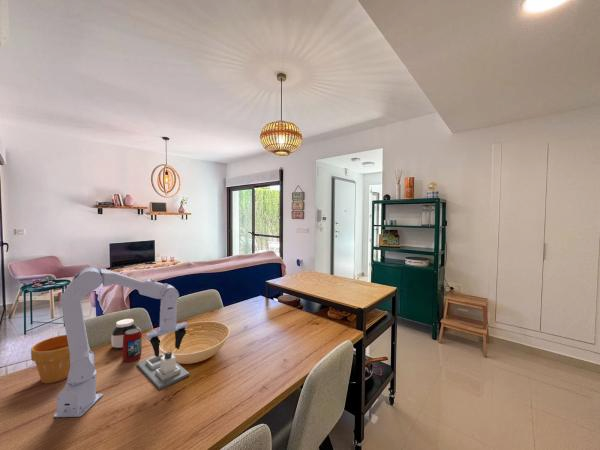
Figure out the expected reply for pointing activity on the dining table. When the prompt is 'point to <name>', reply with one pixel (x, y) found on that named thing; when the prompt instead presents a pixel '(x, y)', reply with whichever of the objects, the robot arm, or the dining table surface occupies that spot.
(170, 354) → the plug
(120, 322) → the spread jar
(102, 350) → the dining table surface
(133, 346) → the beverage can
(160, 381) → the board
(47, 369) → the flower pot
